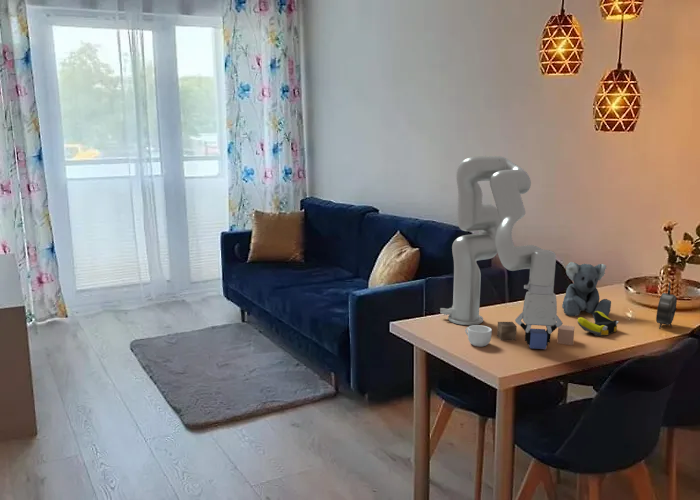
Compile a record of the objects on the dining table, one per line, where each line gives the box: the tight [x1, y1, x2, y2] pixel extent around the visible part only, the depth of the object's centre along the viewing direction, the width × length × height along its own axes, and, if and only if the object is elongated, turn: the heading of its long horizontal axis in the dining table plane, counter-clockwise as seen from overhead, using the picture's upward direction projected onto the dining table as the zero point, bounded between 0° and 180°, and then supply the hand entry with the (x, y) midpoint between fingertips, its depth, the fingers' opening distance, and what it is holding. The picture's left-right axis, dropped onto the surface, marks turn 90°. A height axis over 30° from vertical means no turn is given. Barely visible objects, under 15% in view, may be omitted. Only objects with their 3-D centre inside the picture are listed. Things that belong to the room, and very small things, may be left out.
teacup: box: [464, 324, 493, 348], centre depth 215 cm, size 10×8×5 cm
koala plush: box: [561, 261, 612, 317], centre depth 252 cm, size 17×18×20 cm
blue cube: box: [528, 327, 547, 350], centre depth 211 cm, size 5×5×5 cm
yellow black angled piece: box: [576, 311, 620, 337], centre depth 229 cm, size 15×6×10 cm
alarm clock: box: [655, 282, 678, 330], centre depth 233 cm, size 11×5×16 cm, turn 145°
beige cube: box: [556, 324, 576, 346], centre depth 217 cm, size 5×5×5 cm
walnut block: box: [496, 321, 517, 341], centre depth 221 cm, size 5×5×5 cm
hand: (537, 343), depth 211 cm, fingers closed on blue cube, 4 cm apart
